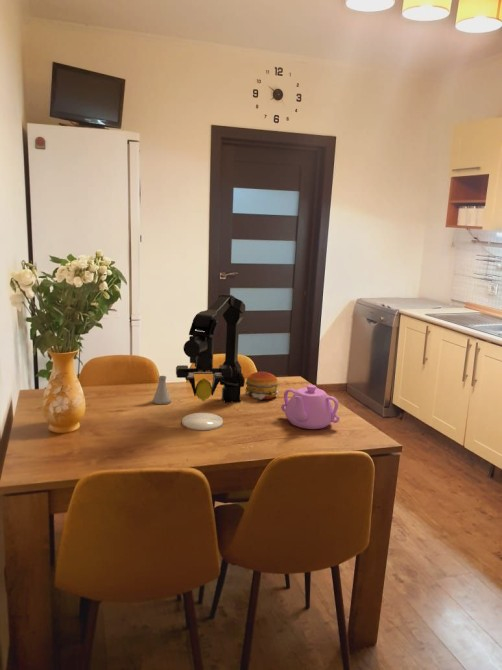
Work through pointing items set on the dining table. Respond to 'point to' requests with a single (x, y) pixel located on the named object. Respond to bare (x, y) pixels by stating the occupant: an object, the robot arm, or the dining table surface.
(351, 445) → the dining table surface
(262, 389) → the burger
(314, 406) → the teapot
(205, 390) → the lemon
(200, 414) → the plate
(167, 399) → the flask
